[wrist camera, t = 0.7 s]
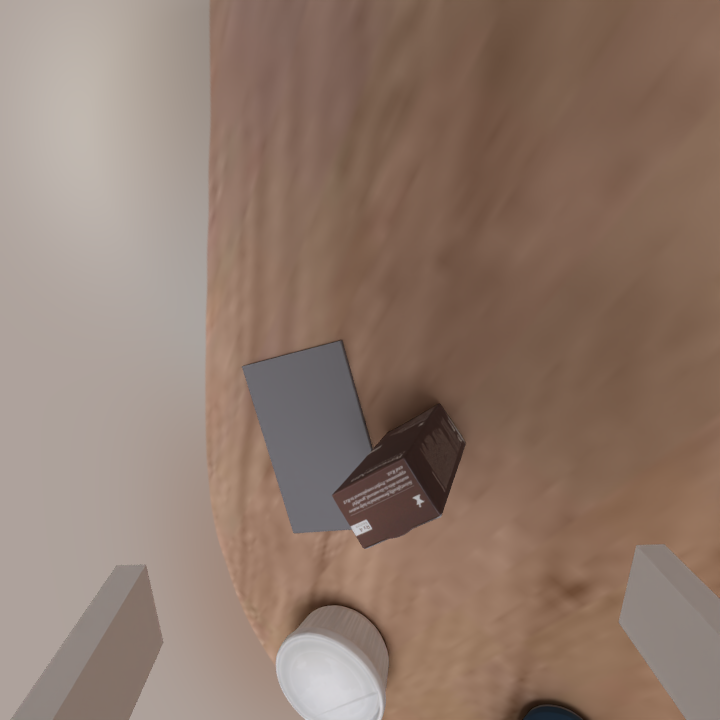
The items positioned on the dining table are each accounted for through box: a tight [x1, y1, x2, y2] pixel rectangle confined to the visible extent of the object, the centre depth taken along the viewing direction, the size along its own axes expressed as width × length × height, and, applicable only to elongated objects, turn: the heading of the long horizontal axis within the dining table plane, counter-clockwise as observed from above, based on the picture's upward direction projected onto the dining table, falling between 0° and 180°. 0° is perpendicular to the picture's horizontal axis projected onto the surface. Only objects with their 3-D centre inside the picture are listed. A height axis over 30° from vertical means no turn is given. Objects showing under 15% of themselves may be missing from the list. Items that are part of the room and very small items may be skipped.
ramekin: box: [276, 605, 389, 720], centre depth 41 cm, size 11×11×5 cm
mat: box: [242, 340, 373, 533], centre depth 39 cm, size 18×11×1 cm, turn 17°
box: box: [332, 404, 466, 549], centre depth 30 cm, size 6×4×12 cm
